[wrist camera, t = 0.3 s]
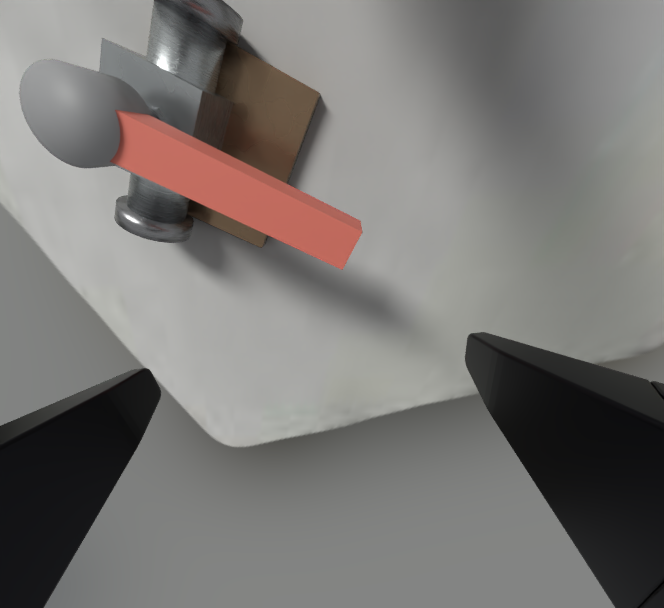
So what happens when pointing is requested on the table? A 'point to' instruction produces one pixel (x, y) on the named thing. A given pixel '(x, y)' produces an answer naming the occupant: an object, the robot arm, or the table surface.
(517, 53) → the table surface
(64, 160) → the lever
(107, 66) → the valve
